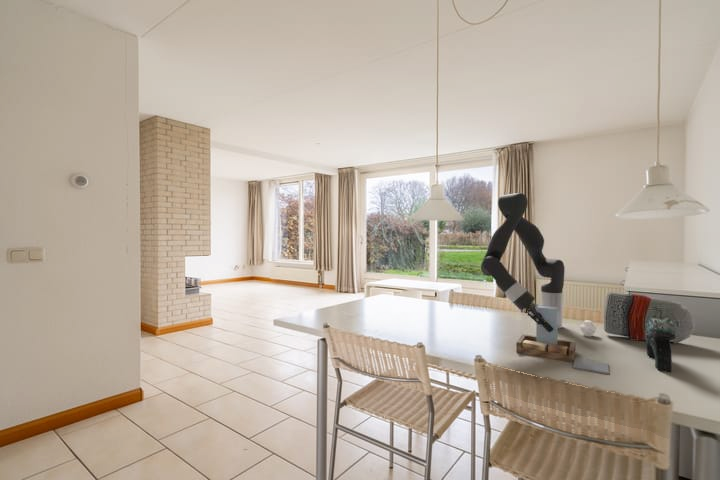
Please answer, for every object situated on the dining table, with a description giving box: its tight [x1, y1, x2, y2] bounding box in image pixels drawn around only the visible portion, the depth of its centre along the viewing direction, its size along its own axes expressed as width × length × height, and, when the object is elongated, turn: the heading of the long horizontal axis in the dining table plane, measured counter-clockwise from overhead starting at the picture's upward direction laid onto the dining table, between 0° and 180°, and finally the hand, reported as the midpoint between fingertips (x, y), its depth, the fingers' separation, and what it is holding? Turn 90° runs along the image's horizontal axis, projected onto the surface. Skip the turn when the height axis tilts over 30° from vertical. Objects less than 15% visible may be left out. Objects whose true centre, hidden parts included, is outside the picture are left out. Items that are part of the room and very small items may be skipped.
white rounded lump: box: [579, 320, 597, 337], centre depth 159 cm, size 6×6×7 cm
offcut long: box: [522, 340, 547, 351], centre depth 137 cm, size 8×4×4 cm, turn 49°
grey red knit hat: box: [603, 291, 696, 344], centre depth 152 cm, size 19×6×30 cm
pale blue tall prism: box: [535, 305, 559, 345], centre depth 139 cm, size 7×4×17 cm, turn 56°
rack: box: [515, 333, 577, 363], centre depth 137 cm, size 19×13×4 cm
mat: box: [572, 357, 610, 375], centre depth 122 cm, size 10×10×1 cm
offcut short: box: [548, 344, 568, 355], centre depth 132 cm, size 6×4×4 cm, turn 54°
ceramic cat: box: [645, 308, 675, 373], centre depth 125 cm, size 20×6×20 cm, turn 151°
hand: (552, 329), depth 138 cm, fingers open, 4 cm apart
